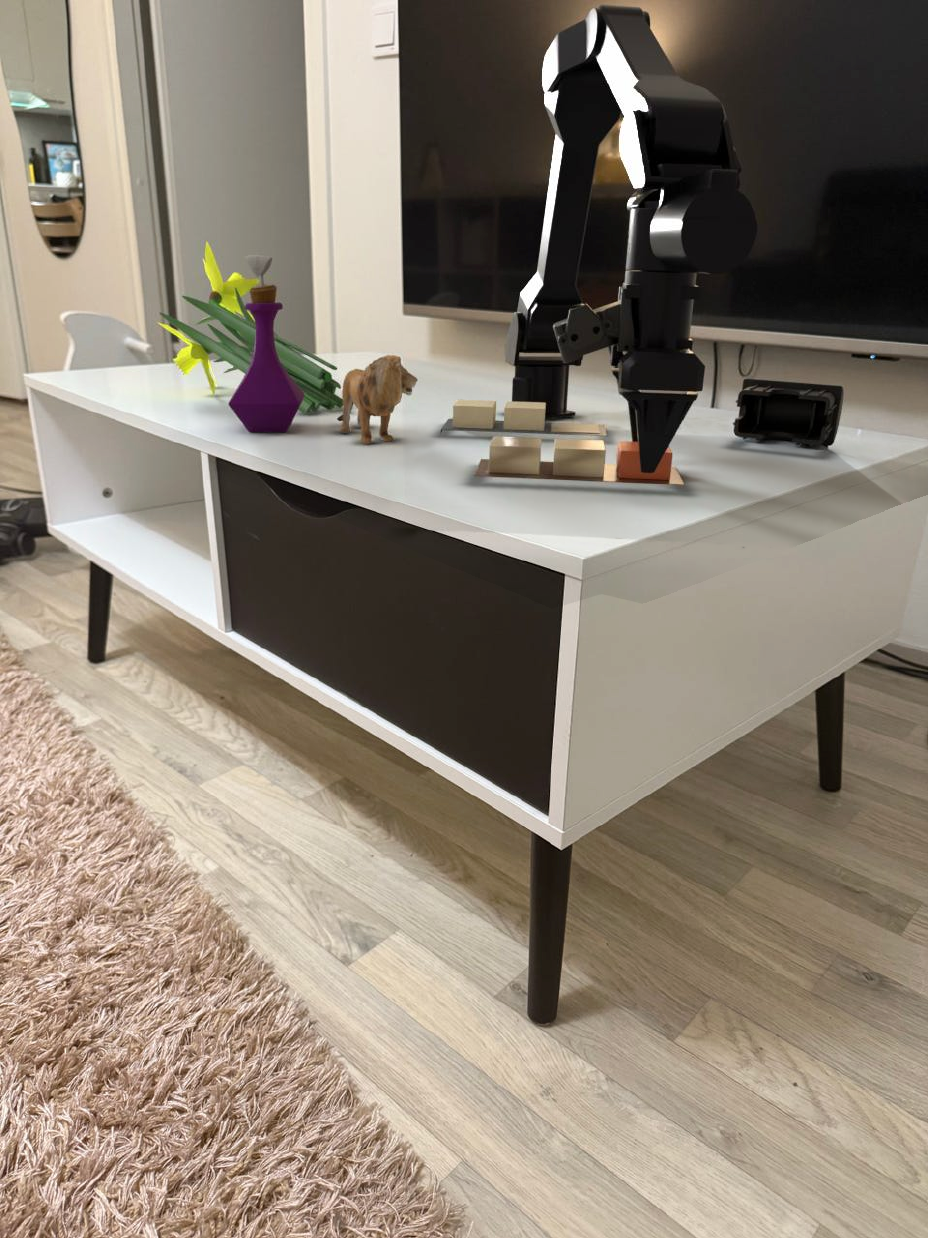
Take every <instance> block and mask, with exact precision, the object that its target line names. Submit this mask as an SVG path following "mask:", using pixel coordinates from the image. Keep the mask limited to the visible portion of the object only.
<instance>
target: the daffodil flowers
mask: <svg viewBox="0 0 928 1238" xmlns="http://www.w3.org/2000/svg"><path fill="white" fill-rule="evenodd" d="M204 249H205V250H204V258H205V259H204V258H203V257H202V261H203V265H204V271H205V275H206V276H207V278H208V280H209V282H210V287H211V289H212V291H211V292H209V295H208V303H207V302H205V301H202V300H199V299H197V298H193V297H190V296H187V295H182V296H181V297H182V298H183V299H184V300H185V301H187V302H188V303H189V304H191V305H193V306H194V307H195V308H197V309H199V310H200V311H202V312H203V313H205V314H206V315H208V316H207V317H204V318H202V319H201V320H199V321H198V322H196V323H195V324H194V326H199V325H202V324H205V323H207V326H208V328H209V330H211V332H212V333H213V334H214V335H215V336H216V338H217V339H218V340H219V341H217V340H214V339H213V338H212V337H209V336H207V335H206V334H205V333H203V332H201V331H199V330H198V329H196V328H194V327H192V326H190V325H188V324H186V323H184V322H182V321H181V320H179V319H176V318H174V317H172V316H170V315H168V314H166V313H164V312H160V311H159V315H160V316H161V317H163V318H164V319H165V320H166V321H168V322H169V324H171V325H172V326H174V327H175V328H177V329H178V330H177V329H175V328H173V327H171V326H170V325H169V324H164V323H161V322H157V321H156V323H157V324H158V325H160V326H161V327H162V328H163V329H164V330H167V331H168V332H170V333H171V334H172V335H174V336H175V337H177V338H178V339H180V340H181V341H182V342H183V343H186V344H187V345H188V346H185V347H182V348H181V349H180V350H179V351H178V353H177V355H176V356H177V357H175V358H173V359H172V361H173V363H174V364H175V363H176V364H175V366H176V367H178V370H180V371H181V372H180V373H183V375H184V377H187V376H188V375H189V373H190V372H191V371H192V370H193V369H194V368H195V367H196V366H197V365H198V364H199V363H201V365H202V368H203V370H204V373H205V376H206V378H207V382H208V384H209V387H210V390H211V392H212V395H213V396H215V392H216V388H218V384H217V381H216V377H215V374H214V372H213V369H212V365H211V361H210V356H209V355H211V354H214V355H216V356H218V359H216V360H213V361H212V363H222V362H227V363H228V364H229V365H230V366H232V367H230V368H228V369H226V370H224V371H223V374H227V373H230V372H233V371H237V370H238V371H240V372H241V373H243V374H245V373H246V371H247V369H248V367H249V365H250V363H251V361H252V357H253V353H254V348H255V339H256V326H255V320H254V318H253V316H252V314H251V312H250V311H249V310H247V309H245V303H244V302H243V299H242V298H241V297H243V296H245V295H246V294H248V293H250V291H249V290H250V289H251V287H253V286H257V285H259V283H260V282H261V279H258V278H246V277H243V274H240V272H237V271H234V272H233V273H232V274H231V275H230V277H229V278H228V279H227V280H226V281H223V276H222V274H221V271H220V269H219V266H218V263H217V261H216V258H215V255H214V253H213V250H212V248H211V246H210V243H209V242H208V241H206V243H205V248H204ZM236 313H238V314H239V315H241V316H243V317H240V316H239V315H237V314H236ZM216 320H217V321H219V323H220V324H221V325H222V326H223V327H224V328H225V329H226V330H227V331H228V332H230V334H232V335H233V336H234V337H235V338H236V339H237V340H238V341H239V342H241V343H242V344H243V345H240V344H239V343H237V342H236V341H235V340H233V339H232V338H231V337H229V336H228V335H226V334H225V333H223V332H222V331H220V330H219V329H218V328H216V327H214V326H213V325H212V324H209V323H208V322H212V321H216ZM181 332H182V333H181ZM184 334H185V335H186V336H187V337H189V338H191V339H189V338H187V337H186V336H185V335H184ZM274 342H275V347H276V352H277V355H278V358H279V360H280V363H281V364H282V366H283V367H284V369H285V370H286V372H287V373H288V375H289V376H290V377H291V379H292V380H293V381H294V382H295V383H296V384H297V386H298V387H299V388H300V389H301V390H302V392H303V393H304V394H305V396H304V398H303V400H302V403H301V405H300V407H299V409H298V411H300V412H302V413H304V414H305V415H308V414H309V413H310V412H311V411H312V412H316V411H317V410H318V409H319V408H320V406H321V407H322V408H324V409H326V410H328V411H332V410H333V409H335V407H336V408H338V409H341V408H342V407H343V397H340V396H339V395H337V394H336V389H337V388H338V389H342V386H341V384H340V383H339V382H338V381H336V380H335V379H334V378H333V375H332V373H331V372H330V371H328V370H326V369H325V368H324V367H321V366H320V365H319V364H321V365H324V366H325V367H327V368H329V369H331V370H332V371H337V370H338V367H337V366H335V365H334V364H332V363H330V362H328V361H326V360H325V359H323V358H321V357H319V356H318V355H316V354H314V353H312V352H310V351H308V350H306V349H304V348H303V347H300V346H299V345H297V344H294V343H292V342H291V341H288V340H287V339H285V338H282V337H281V336H279V335H278V334H277V333H276V332H275V331H274ZM297 351H298V352H297ZM299 352H300V353H302V354H304V355H305V356H308V357H309V358H311V359H313V360H314V361H317V362H318V363H319V364H317V363H316V362H314V361H312V360H311V359H309V358H307V357H305V356H304V355H302V354H300V353H299ZM212 376H213V377H212Z"/></svg>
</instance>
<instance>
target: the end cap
mask: <svg viewBox="0 0 928 1238" xmlns="http://www.w3.org/2000/svg"><path fill="white" fill-rule="evenodd" d="M844 390H845V389H844V387H843V386H842V385H835V384H822V383H807V382H795V381H782V380H772V379H771V380H770V379H769V380H768V379H755V378H744V379H743V382H742V387H741V390H740V391H739V392H738V394H737V395H738V396H737V399H736V400H735V403H736V407H737V408H739V410H738V417H736V418H735V419H734V422H732V425H733V434H734V436H735V437H738V438H742V440H744V441H745V440H747V439H754V440H755V441H756V442H759V441H760V440H764V439H769V440H771V439H772V440H781V441H790V442H791V443H793V444H796V446H800V445H801V444H802V445H809V447H811V448H812V447H813V446H819V445H820V446H821V445H822V446H823V447H824V448H826V449H829V447H831V446H833V445H834V443H835V440H836V437H837V434H838V430H839V426H840V422H841V416H842V411H843V405H844V395H845V394H844V393H845V392H844Z"/></svg>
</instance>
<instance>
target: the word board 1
mask: <svg viewBox="0 0 928 1238" xmlns="http://www.w3.org/2000/svg"><path fill="white" fill-rule="evenodd" d="M503 408H504V410H503V412H504V413H503V420H496V418H497V417H496V416H497V400H483V399H481V400H479V399H457V400H456V401H455V402H454V403H453V405H452V418H447V420H446V421H445V423H444V424H443V425H442V426H441V428H440V430H439V431H440V432H439V433H440V435H441V434H442V432H443V431H460V432H461V431H462V432H485V433H486V432H488V433H511V434H513V433H515V434H540V435H562V436H563V435H564V436H566V435H567V436H590V437H591V436H594V437H608V433H607V429H606V425H605V424H601V423H574V422H548V421H547V422H546V420H545V409H546V403H540V402H512V400H511V401H510V400H509V401H508V400H507V401H506V403H505V405H504V407H503Z"/></svg>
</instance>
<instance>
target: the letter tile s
mask: <svg viewBox="0 0 928 1238" xmlns="http://www.w3.org/2000/svg"><path fill="white" fill-rule="evenodd" d="M673 455H674V453H673V451H672V449H671V448H670V445H669V446H668V448H667V450H666V452H665V454H664V455H663V457H662V459H661V461H660V463H659V465H658V466H657V468H656V470H655V472H654V473H643V472H641V469H640V458H639V447H638V442H632V441H628V440H627V441H625V440H623V441H622V440H618V441H617V448H616V459H615V461H616V462H615V464H616V469H617V473H618V477H619V478H627V479H650V480H670V474H671V467H672V463H673Z"/></svg>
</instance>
